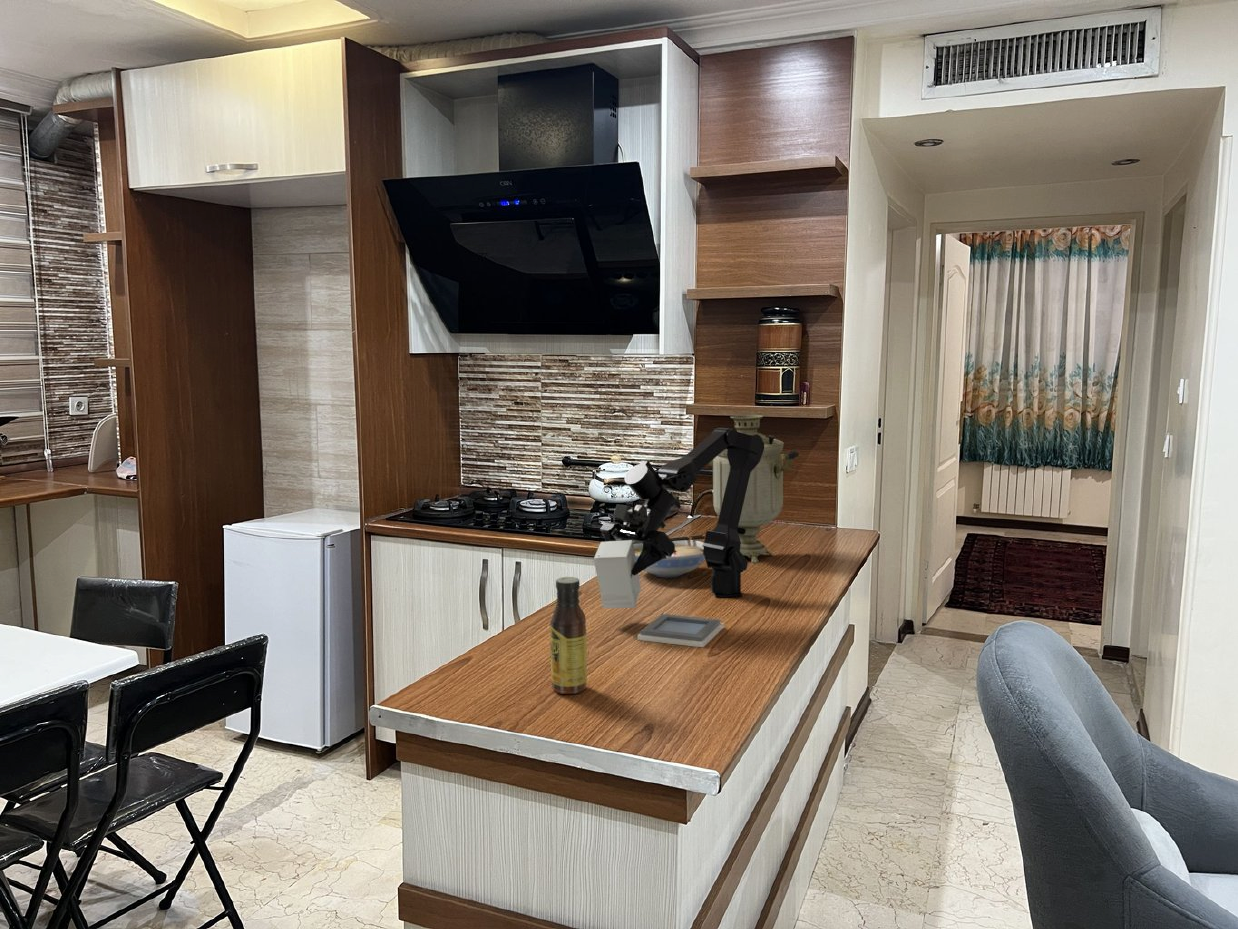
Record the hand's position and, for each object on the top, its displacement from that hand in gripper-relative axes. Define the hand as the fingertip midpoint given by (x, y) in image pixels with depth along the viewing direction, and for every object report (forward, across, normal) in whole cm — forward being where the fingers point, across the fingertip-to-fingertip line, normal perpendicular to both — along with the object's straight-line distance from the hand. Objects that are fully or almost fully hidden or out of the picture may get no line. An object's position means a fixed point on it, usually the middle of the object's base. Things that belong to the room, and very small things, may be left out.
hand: (617, 570), depth 198 cm
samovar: (-42, -22, +60) cm, 76 cm away
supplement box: (+4, 0, +6) cm, 7 cm away
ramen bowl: (-19, -24, +36) cm, 47 cm away
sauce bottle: (+31, +23, -14) cm, 41 cm away
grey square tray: (+5, +14, +12) cm, 19 cm away
